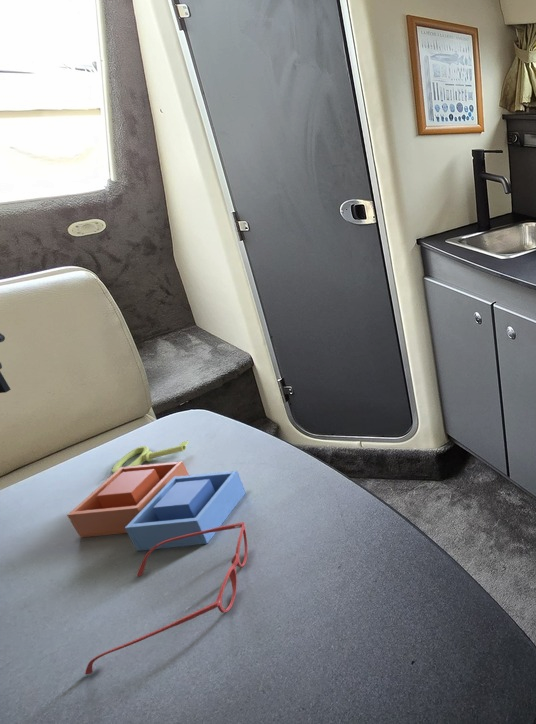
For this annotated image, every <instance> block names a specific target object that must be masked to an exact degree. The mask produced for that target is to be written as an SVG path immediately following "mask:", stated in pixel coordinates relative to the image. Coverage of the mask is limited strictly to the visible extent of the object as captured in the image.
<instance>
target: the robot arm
mask: <svg viewBox="0 0 536 724" xmlns="http://www.w3.org/2000/svg"><path fill="white" fill-rule="evenodd" d="M5 339H6V337H5V335H4V334H2V333H1V332H0V343H3V342H5ZM1 369H3V365H2V362H0V370H1ZM9 391H11V387H10V385H9V384H8V382H7V381H6V379H5V376H4V375H3V374H2V372H1V371H0V394H4V393H7V392H9Z"/></svg>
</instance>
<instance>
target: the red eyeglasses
mask: <svg viewBox="0 0 536 724" xmlns="http://www.w3.org/2000/svg"><path fill="white" fill-rule="evenodd" d="M233 529H240V532H239V536H238V540H237V544H236V550H235V553H234V555H233V558H232V559H231V566H230V567H229V568H228V570H227V573H226V575H225V577H224V580H223V582H222V585H221V587H220V589H219V592H218V595H217V598H216V600H215V602H213V603H211V604H209V605H207V606H204V607H203V608H200V609H199V610H197V611H194V612H192V613H190V614H188V615H186V616H184V617H182V618H180V619H177V620H176V621H174V622H172V623H170V624H168V625H165V626H163V627H161V628H158V629H156V630H154V631H152V632H149V633H147V634H145V635H143V636H140V637H138V638H135V639H134V640H132V641H128V642H126V643H124V644H122V645H119V646H116V647H114V648H112V649H109V650H107V651H105V652H102V653H101V654H98V655H96V656H95V657H93V658H92V659H91V660H90V661H89V662H88V663H87V666H86V669H85V672H84V674H85V675H90V674H93V670H94V669H93V664H94V663H95V661H97V660H98V659H100V658H102V657H104V656H106V655H108V654H110V653H111V654H112V653H113V652H116V651H119V650H121V649H124V648H126V647H129V646H132V645H134V644H136V643H137V644H138V643H139V642H142V641H143V640H146V639H149V638H150V637H153V636H155V635H157V634H160V633H162V632H165V631H167V630H169V629H172V628H174V627H177V626H179V625H181V624H184V623H186V622H188V621H191V620H192V619H193V620H194V619H195V618H197V617H199V616H201V615H203V614H206V613H208V612H210V611H212V610H214V609H218V610H219V612H220V613H223V614H224V613H228V612H229V611H230V610H231V608H232V607H233V605H234V603H235V600H236V596H237V595H236V594H237V587H238V586H237V585H238V578H237V577H238V576H237V569H236V568H237V567H239V568H243V567H244V566H245V565H246V563H247V559H248V538H247V531H246V523H245V522H244V521H242V522H237V523H231V524H226V525H221V526H220V527H217V528H213V529H209V530H205V531H200V532H196V533H191V534H187V535H183V536H179V537H175V538H172V539H168V540H165V541H163V542H161V543H159V544H157V545H156V546H154V547H153V548H152V549H150V550H147V553H146V554H145V555H144V557H143V559H142V561H141V563H140V566H139V568H138V571H137V573H136V577H141V576H142V575H143V574H144V572H145V568H146V565H147V561H148V559H149V556H150V555H151V554H152V552H154V551H155V550H157V549H156V548H157V547H158V546H160V545H162V544H164V543H167V542H170V541H174V540H178V539H182V538H186V537H190V536H195V535H200V534H205V533H210V532H216V533H217V532H221V531H227V530H228V531H229V530H233ZM242 538H243V542H244V543H243V545H244V554H243V555H244V556H243V561H242V563H241V561H240V549H241V542H242ZM228 579H229V580H230V583H231V588H232V596H231V600H230V603H229V605H228V606H227V607H226V609H225V608H224V606H223V595H224V591H225V588H226V585H227V582H228Z"/></svg>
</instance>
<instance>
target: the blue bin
mask: <svg viewBox="0 0 536 724" xmlns="http://www.w3.org/2000/svg"><path fill="white" fill-rule="evenodd" d="M207 479H210V481H211V483H212V486H213V488H214V490H215V494H214V495H213V497H212V498H211V499H210V500H209V502H208V503H207V504H206V505H205V506H204V508H203V509H202V510H201V511H200V513H199V514H198V515H197V516H196V517H195V518H187V519H177V520H167V521H159V519H158V517H157V515H156V513H155V511H154V509H153V507H154V506H155V505H156V504H157V503H158V502H159V501H160V500H161V499H162V498H163V497H164V495H165V494H166V493H167V492H168V491H169V490H170V489H171V488H172V487H173V486H174V485H175V484H176V483H177V482H186V481H197V480H207ZM246 492H247V491H246V489H245V487H244V483H243V481H242V479H241V476H240V474H239V472H238V470H230V471H229V470H228V471H219V472H210V473H199V474H198V473H197V474H189V475H187V476H176V477H173V478H172V479H171V480H170V481H169V482H168V483H167V484H166V485H165V486H164V487H163V489H162V490H161V491H160V492H159V493H158V494H157V495H156V496H155V497H154V498H153V499H152V500H151V501H150V502H149V503H148V504H147V505H146V506H145V507H144V508H143V509H142V510H141V511H140V513H139V514H138V515H137V516H136V517H135V518H134V519H133V520H132V521H131V522H130V523H129V524H128V525H127V526H126V527H125V529H126V531H127V533H126V534H127V535H128V537H129V538H130V541H131V542H132V544H133V546H134V547H135V550H136V551H137V552H140V551H149V550H150V549H152V548H153V547H154V546H156V545H157V544H159V543H161V542H163V541H165V540H168V539H172V538H175V537H179V536H183V535H187V534H191V533H196V532H200V531H205V530H209V529H213V528H217V527H221V526H223V524H224V522H225V521H226V520H227V518H228V517H229V516H230V515H231V513H232V511H233V510H234V509H235V508H236V506H238V504H239V502H240V501H241V500H242V498H243V497H244V495H245V494H246ZM216 533H217V532H210V533H205V534H200V535H195V536H190V537H186V538H182V539H178V540H174V541H170V542H167V543H164V544H162V545H160V546H158V547H157V548H156V549H155V550H159V549H161V550H162V549H169V548H179V547H189V546H190V547H191V546H198V545H207V544H209V542H210V541H211V540H212V538H213V537H214V536H215V534H216Z"/></svg>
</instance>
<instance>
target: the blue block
mask: <svg viewBox="0 0 536 724" xmlns="http://www.w3.org/2000/svg"><path fill="white" fill-rule="evenodd" d="M214 494H215V490H214V488H213V486H212V483H211V481H210V479H207V480H197V481H186V482H177V483H176V484H175V485H174V486H173V487H172V488H171V489H170V490H169V491H168V492H167V493H166V494H165V495H164V497H163V498H162V499H161V500H160V501H159V502H158V503H157V504H156V505H155V506H154V507H153V509H154V511H155V513H156V515H157V517H158V519H159V521H167V520H177V519H187V518H195V517H196V516H197V515H198V514H199V513H200V511H201V510H202V509H203V508H204V506H205V505H206V504H207V503H208V502H209V500H210V499H211V498H212V497H213V495H214Z"/></svg>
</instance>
